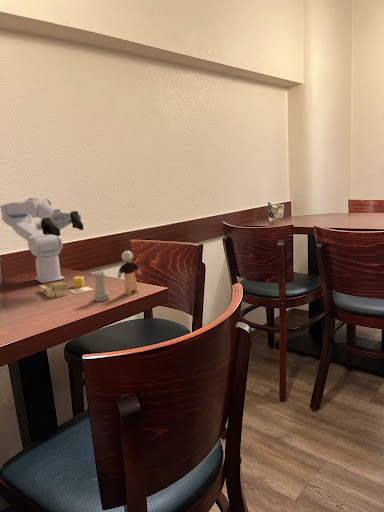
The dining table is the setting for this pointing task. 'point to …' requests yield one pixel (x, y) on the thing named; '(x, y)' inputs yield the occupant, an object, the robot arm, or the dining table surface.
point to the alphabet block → (78, 281)
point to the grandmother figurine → (129, 273)
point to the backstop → (47, 291)
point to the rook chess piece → (100, 288)
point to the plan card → (81, 290)
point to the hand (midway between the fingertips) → (70, 229)
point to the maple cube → (59, 289)
